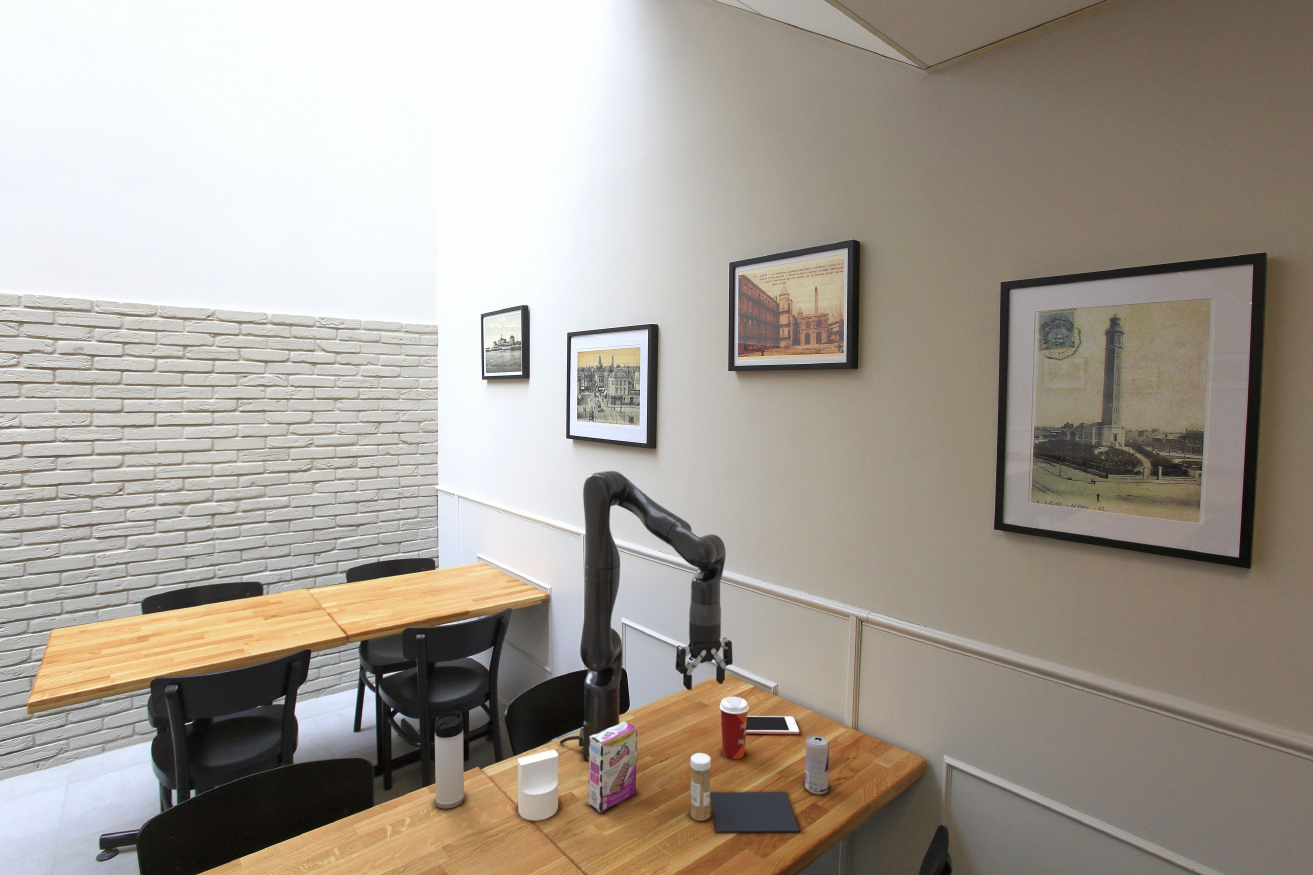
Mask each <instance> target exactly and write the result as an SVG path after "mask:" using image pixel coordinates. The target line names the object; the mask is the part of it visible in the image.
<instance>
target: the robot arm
mask: <svg viewBox="0 0 1313 875" xmlns="http://www.w3.org/2000/svg"><path fill="white" fill-rule="evenodd" d="M582 498H583V514H584V528H585V532H584V534H585V535H584V540H585V541H584V569H583V570H584V571H583V573H584V576H583V584H584V587H583V588H584V589H583V592H584V593H583V605H584V606H583V624H582V632H581V638H580V639H581V640H580V648H579V654H580V657H581V658H580V659H581V661H582V663H583V665H584V666H585V667H586V668H587V669H588V670H587V673H586V675H585V676H586V677H585V679H584V682H583V687H584V688H583V691H584V692H583V703H584V704H583V706H584V707H583V710H584V711H583V712H584V713H583V716H584V718H583V719H584V720H583V723H582V724H583V725H582V726H583V727H580V730H579V735H571V736H567V737H564V738H563V739H561V740H559V744H560V745H563V744H564V743H565V742H569V741H574V740H578V747H579V748H580V747H581V748H582V749H583V750H582V751H583V752H582V753H583V754H582V755H583V761H584V760H585V761H589V736H592V735H594V734H596V733H599V732H601V731H603V730H606V729H608V728H610V727H613V726H615V725H617V724H620V683H621V680H622V675H623V674H622V672H623V642H622V638H621V636H620V634H619V633H618V632H617V630H615V629H614V628H612V617H613V616H612V615H613V611H614V607H615V604H616V600H617V597H618V593H619V592H618V591H619V588H620V579H621V556H620V552H619V549H618V546H617V544H616V542H615V540H614V538H613V535H612V531H611V508H612V507H614V506H617V507H620V508H621V509H622V508H623V509H625V510H627V511H629V512H630V513H632V514H633V515H634V516H636V517H637V518H638V519H639V521H640V522H641V523H642V525H643V526H644V527H645V529H647V531H648V532H649V533H651V534H652V535H653V536H654V537H656V538H658V539H659V540H660V541H662V542H663V543H665V544H667V545H668V546H670V547H672V548H673V550H674V551H675V552H676V553H677V554H678V555H679V556H680V557H681V558H682V560H684V561H685V562H686V563H688V565H690V566H692V567H694V568H697V572H696V573H695V574H694V576H693V577H692V579H691V582H690V604H689V616H688V618H689V620H688V639H689V642H688V645H686V646H682V645H680V644H679V645H677V646H676V653H675V654H676V655H675V656H676V657H675V670H676V671H677V672H678V673H679V674H681V675H682V676H683V677H682V681H683V682H682V684H683V686H684V688H685V689H687V691H692V689H693V675H692V673H693V671H694V670H695V669H696V668H698V666H699V664H704V663H706V662H708V663H710V662H713V661H714V662H715V663H716V666H715V667H716V668H715V670H716V671H715V681H716V682H717V683H718V684H719V685H723V684H724V681H726V668H727V667H728V666H731V665H733V642H732V640H730V639H728V638H727V637H723V638H722V640H721V636H722V633H721V631H722V608H721V581H722V577H723V572H724V568H725V563H726V556H727V555H726V546H725V543H724V541H723V540H722V538H721V537H720V536H719V535H716V534H713V533H709V534H706V535H702V536H698V535H696V533H694V532H692V531H693V530H692V526H691V524H690V523H689V522H687V521H686V520H685V519H683V518H681V517H680V516H678V515H676V513H673V512H671V511H670V510H668V509H666V508H665V507H663V506H662V505H660V504H659V503H657V502H656V501H655V500H653V499H652V498H651V497H650V496H648V495H647V494H646V493H645V492H643V491H642V490H640V488H639V487H637V486H636V485H635V484H634V483H633V482H632V481H631V480H630V479H628V478H627V477H626V476H625V475H623V474H622V473H621V472H619V471H615V470H605V471H597V472H593V473H591V474H589V475H588V476H587V477H586V479H585V481H584V483H583V489H582ZM721 649H722V657H721V656H720V654H719V652H720V650H721ZM688 653H689V654H688Z"/></svg>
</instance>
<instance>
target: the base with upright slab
mask: <svg viewBox="0 0 1313 875" xmlns="http://www.w3.org/2000/svg"><path fill="white" fill-rule="evenodd" d="M517 786H518V787H517V789H518V790H517V803H518V804H517V805H518V806H517V810H518V811H517V812H518V814H519V815H520V818H523V819H525V820H527V821H536V822H537V821H544V820H547V819H549V818H551V817H552V816H554V815H555V814H556V813H557V811H558V809H559V754H558V752H557V751H556V750H555V749H551V750H546V751H544V752H543V751H542V752H538V753H535V754H531V755H527V756H523V757H519V758H517Z"/></svg>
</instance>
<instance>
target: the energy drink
mask: <svg viewBox="0 0 1313 875" xmlns="http://www.w3.org/2000/svg"><path fill="white" fill-rule="evenodd" d="M829 757H830V744H829V740H828V739H827V738H826V737H825V736H822V735H818V734H812V735H809V736H807V738H806V741H805V772H804V774H805V778H804V780H805V782H804V786H805V789H806V790H807V791H808V792H809V793H811V794H813V795H824V794H826V793H827V792H828V791H829V765H830V764H829V763H830V762H829V761H830V758H829Z"/></svg>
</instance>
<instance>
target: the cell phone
mask: <svg viewBox="0 0 1313 875" xmlns="http://www.w3.org/2000/svg"><path fill="white" fill-rule="evenodd" d="M748 734H752V735H755V734H756V735H757V734H761V735H766V734H767V735H799V734H800V729H799V727H798V724H797V722H796V720H795V717H794V716H784V715H777V716H776V715H747V723H746V735H748Z"/></svg>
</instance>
